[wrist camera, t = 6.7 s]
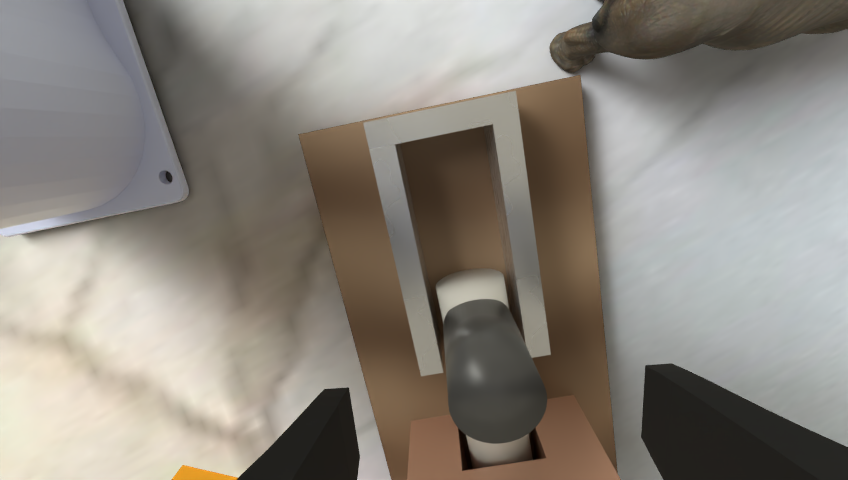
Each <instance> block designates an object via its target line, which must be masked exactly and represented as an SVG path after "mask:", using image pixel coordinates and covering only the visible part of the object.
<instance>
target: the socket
mask: <svg viewBox="0 0 848 480" xmlns="http://www.w3.org/2000/svg"><path fill="white" fill-rule="evenodd" d="M531 436H532V442H533V449H534V455H535V460H531V461H524V462H518V463H511V464H504V465H498V466H491V467H484V468H478V469H471V470H468V466H467V461H466V456H465V451H464V447H463V442H462V437H461V432H460V429H459V428H458V427H457V426H456V424H455V423H454V421H453V420H452V417H451V415H445V416H439V417H433V418H426V419H420V420H414V421H411V428H410V444H409V459H408V474H407V480H621V479H620V477H619V476H618V474H617V472H616V470H615V468H614V467H613V465H612V463H611V461H610V459H609V458H608V456H607V454H606V452H605V450H604V449H603V447H602V445H601V443H600V441H599V440H598V438H597V436H596V434H595V432H594V431H593V429H592V427H591V425H590V423H589V422H588V420H587V418H586V416H585V414H584V413H583V411H582V409H581V407H580V405H579V404H578V402H577V400H576V398H575V396H574V395H570V396H563V397H557V398H551V399H547V406H546V411H545V413H544V416H543V418H542V419H541V421H540V423H539V424H538V425H537V426H536V427H535V428H534V429H533V430H532V431H531Z"/></svg>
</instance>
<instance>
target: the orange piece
mask: <svg viewBox="0 0 848 480" xmlns="http://www.w3.org/2000/svg"><path fill="white" fill-rule="evenodd" d="M237 479H238V478H237V477H232V476H228V475H224V474H219V473H215V472H211V471H206V470H202V469H198V468H193V467H189V466H185V465H182V467H181V468H180V469H179V471H178V472H177V473H176V475H175V476H174V477H173V479H172V480H237Z"/></svg>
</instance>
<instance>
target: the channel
mask: <svg viewBox="0 0 848 480" xmlns="http://www.w3.org/2000/svg"><path fill="white" fill-rule="evenodd" d="M363 124H364V129H365V133H366V138H367V142H368V146H369V151H370V155H371V159H372V164H373V168H374V173H375V177H376V181H377V186H378V190H379V194H380V199H381V203H382V208H383V212H384V216H385V221H386V225H387V229H388V234H389V238H390V243H391V247H392V251H393V256H394V260H395V264H396V269H397V273H398V277H399V282H400V286H401V291H402V295H403V299H404V304H405V308H406V312H407V317H408V321H409V326H410V330H411V334H412V339H413V343H414V347H415V352H416V356H417V361H418V365H419V369H420V374H421V376H426V375H432V374H438V373H443V358H442V341H441V336H440V332H439V327H438V322H437V317H436V313H435V308H434V303H433V298H432V293H431V289H430V284H429V279H428V274H427V269H426V265H425V260H424V255H423V250H422V245H421V241H420V236H419V231H418V226H417V222H416V217H415V212H414V207H413V202H412V198H411V193H410V188H409V183H408V178H407V174H406V169H405V164H404V159H403V154H402V150H401V145H400V143H404V142H409V141H413V140H418V139H423V138H428V137H433V136H438V135H443V134H447V133H452V132H457V131H462V130H467V129H472V128H477V127H481V126H483V127H484V134H485V140H486V147H487V153H488V160H489V166H490V172H491V179H492V185H493V192H494V198H495V205H496V211H497V217H498V224H499V230H500V237H501V243H502V249H503V256H504V262H505V269H506V275H507V282H508V288H509V294H510V301H511V307H512V314H513V318H514V320H515V323H516V325H517V327H518V329H519V331H520V333H521V336H522V338H523V340H524V342H525V344H526V347H527V349H528V351H529V353H530V355H531V357H532V358H534V357H540V356H546V355H551V352H550V344H549V336H548V329H547V321H546V314H545V306H544V299H543V291H542V284H541V276H540V269H539V261H538V254H537V246H536V239H535V231H534V224H533V216H532V209H531V201H530V194H529V186H528V178H527V171H526V163H525V156H524V148H523V141H522V133H521V126H520V118H519V111H518V103H517V96H516V91H512V92H507V93H502V94H497V95H493V96H488V97H483V98H478V99H474V100H469V101H464V102H459V103H455V104H450V105H445V106H440V107H436V108H431V109H426V110H421V111H417V112H412V113H407V114H402V115H398V116H393V117H388V118H383V119H379V120H374V121H369V122H364V123H363Z"/></svg>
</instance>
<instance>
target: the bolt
mask: <svg viewBox="0 0 848 480" xmlns="http://www.w3.org/2000/svg"><path fill="white" fill-rule="evenodd" d="M436 291H437V296H438V301H439V306H440V311H441V316H442V321H443V334H444V349H445V363H446V377H447V392H448V406H449V412H450V415H451V417H452V420H453V421H454V423H455V424H456V426H457V427H458V428H459V429H460V430H461V431H462V432H463V433H464V434H466V438H467V442H468V447H469V452H470V457H471V462H472V467H473V469H478V468H484V467H491V466H498V465H504V464H511V463H518V462H524V461H531V460H533V458H532V451H531V445H530V439H529V433H530V432H531V431H532V430H533V429H534V428H535V427H536V426H537V425H538V424H539V423H540V421H541V419H542V418H543V416H544V413H545V411H546V406H547V393H546V389H545V386H544V384H543V381H542V379H541V377H540V375H539V373H538V371H537V368H536V366H535V364H534V362H533V360H532V357H531V355H530V353H529V351H528V349H527V347H526V344H525V342H524V340H523V338H522V336H521V333H520V331H519V329H518V327H517V325H516V323H515V320H514V318H513V316H512V314H511V312H510V310H509V305H508V299H507V293H506V286H505V280H504V275H503V274H502V273H501V272H500V271H497V270H494V269H487V268H477V269H468V270H463V271H459V272H455V273H453V274H450V275H448V276H446V277H444V278H442V279H441V280H440V281H438V283H437V284H436Z"/></svg>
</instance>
